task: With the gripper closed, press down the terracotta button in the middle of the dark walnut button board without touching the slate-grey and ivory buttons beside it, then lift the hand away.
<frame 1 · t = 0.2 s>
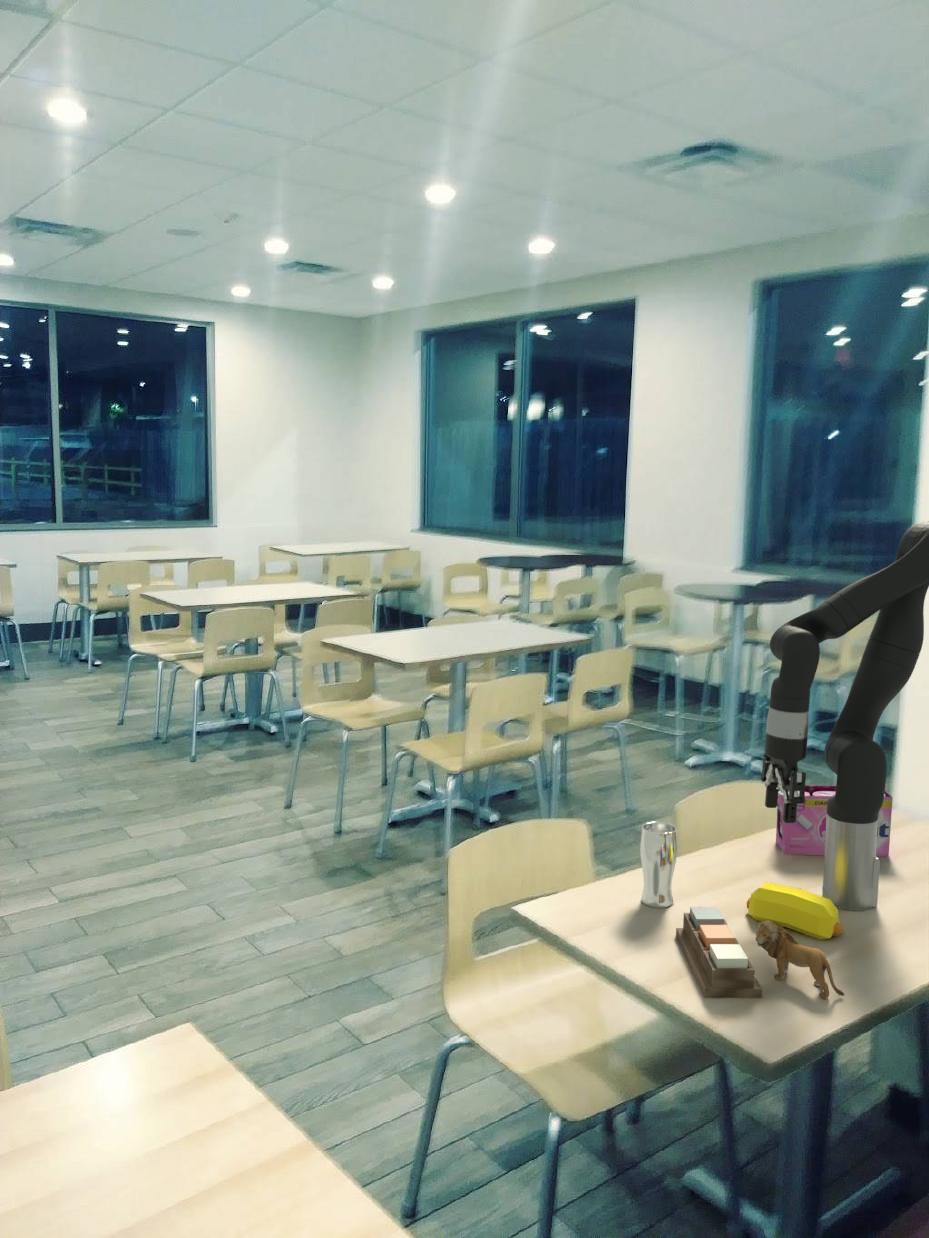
hand: (779, 814, 185), 18 cm above the table, tool pointing down, fingers open, 8 cm apart
terracotta button: (717, 939, 163), point 5 cm above the table, slide at 0.0 cm
ivory button: (728, 959, 156), point 5 cm above the table, slide at 0.0 cm
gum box: (831, 850, 215), on the table
beer glass: (657, 902, 188), on the table
button board: (716, 964, 164), on the table
lion figurine: (794, 983, 158), on the table
ripe banana: (792, 926, 179), on the table
slate button: (706, 920, 170), point 5 cm above the table, slide at 0.0 cm
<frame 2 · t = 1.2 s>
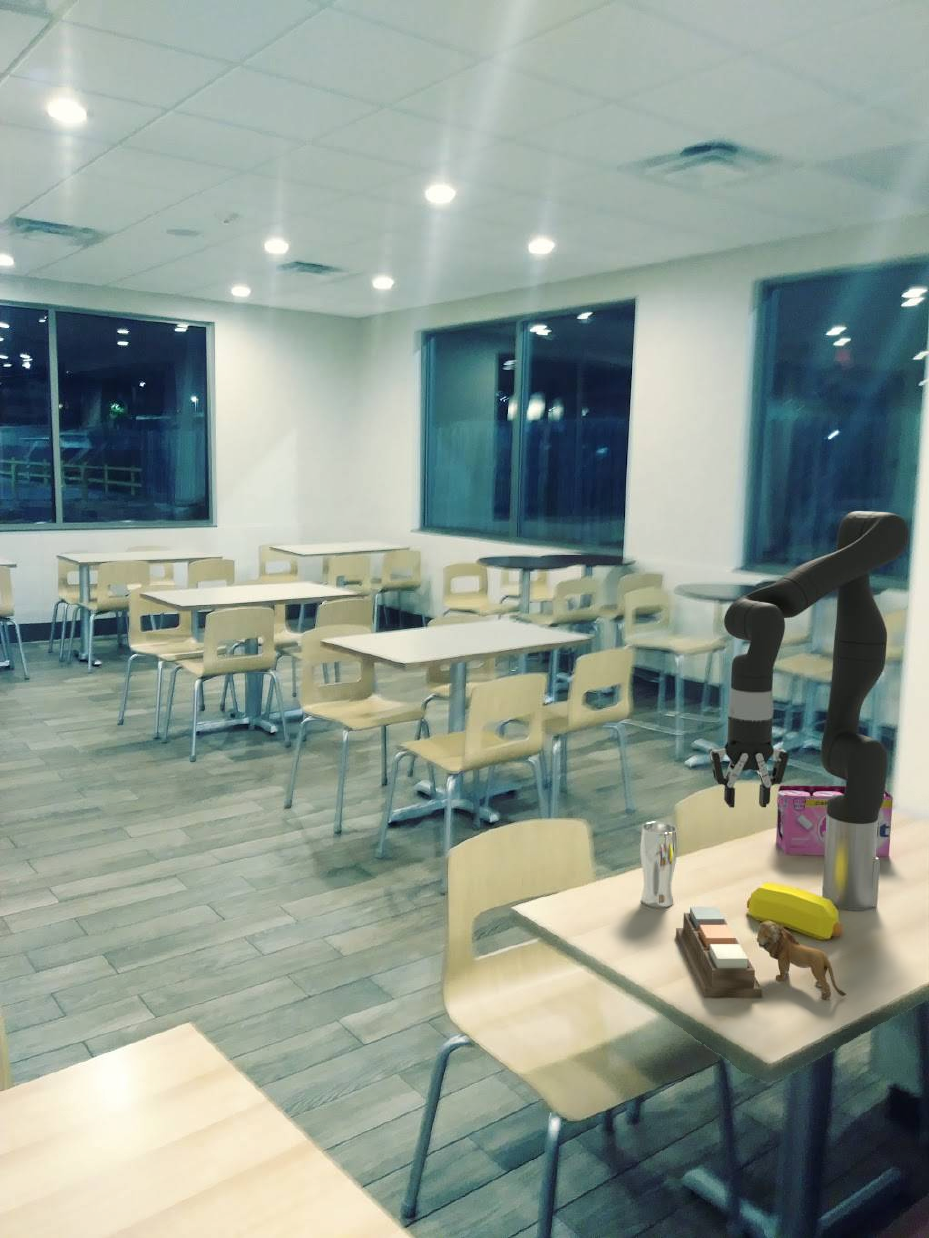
hand: (746, 805, 173), 23 cm above the table, tool pointing down, fingers open, 5 cm apart
nothing on the table moved.
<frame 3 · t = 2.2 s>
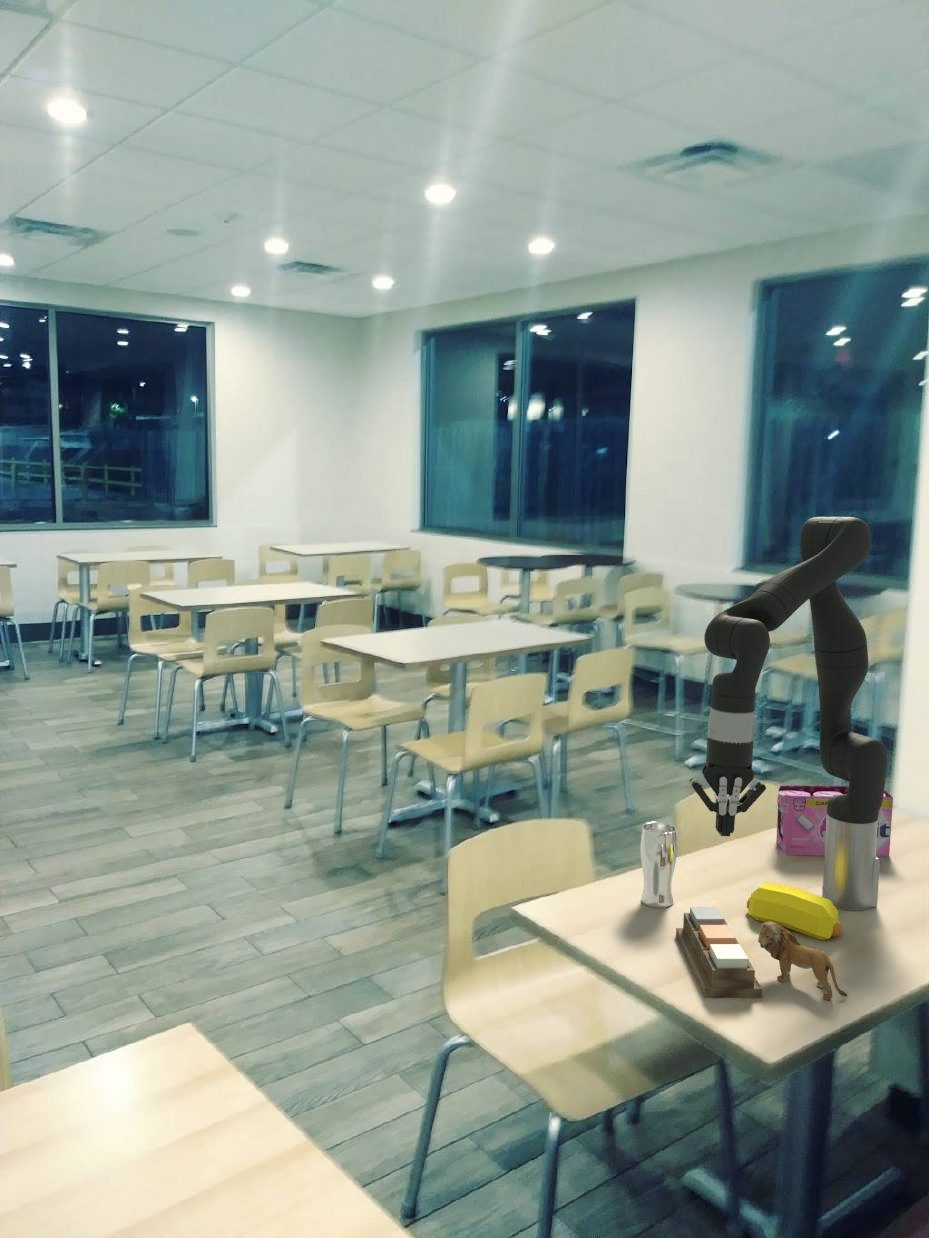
hand: (724, 834, 165), 21 cm above the table, tool pointing down, fingers closed
nothing on the table moved.
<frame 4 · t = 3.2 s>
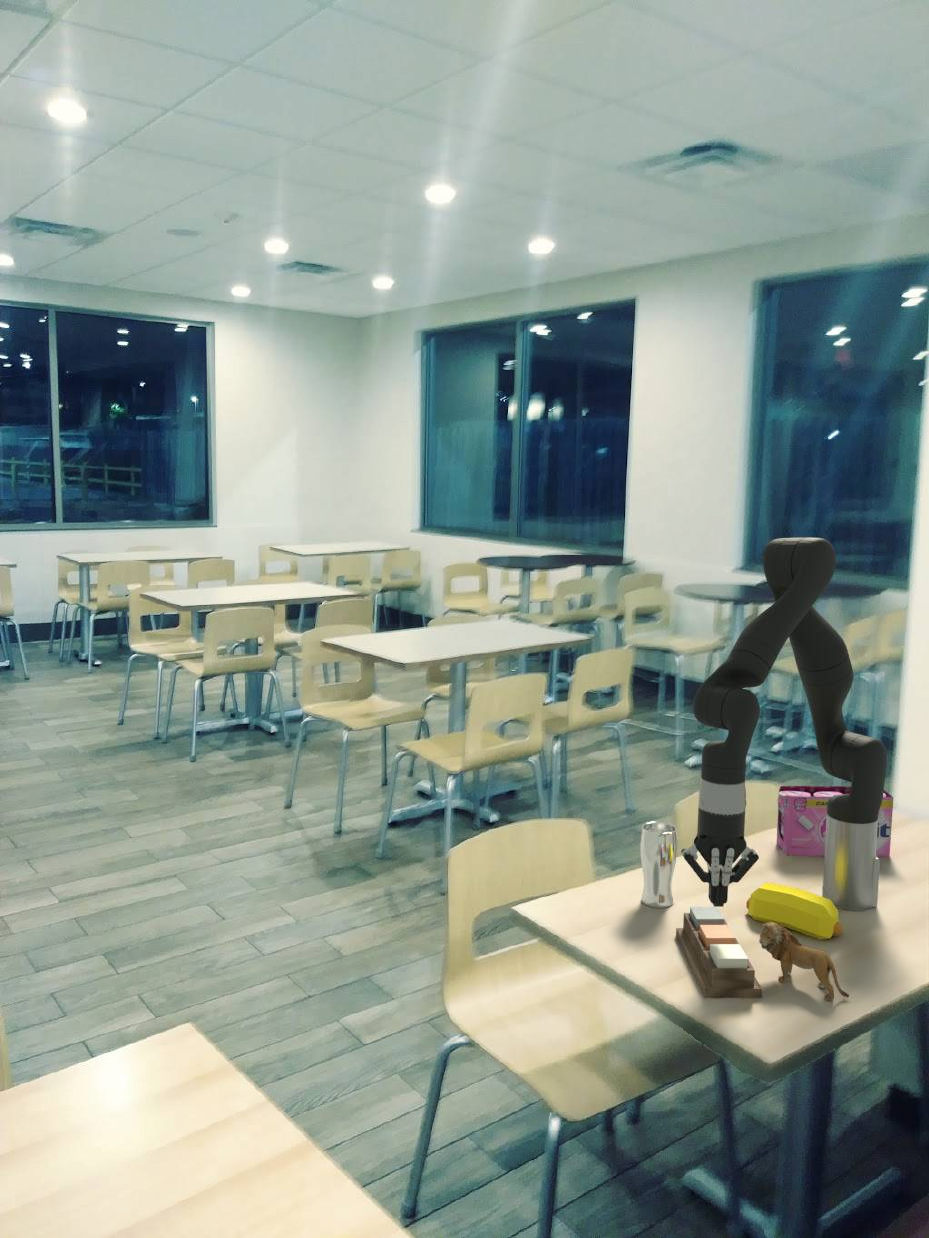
hand: (717, 904, 162), 11 cm above the table, tool pointing down, fingers closed
nothing on the table moved.
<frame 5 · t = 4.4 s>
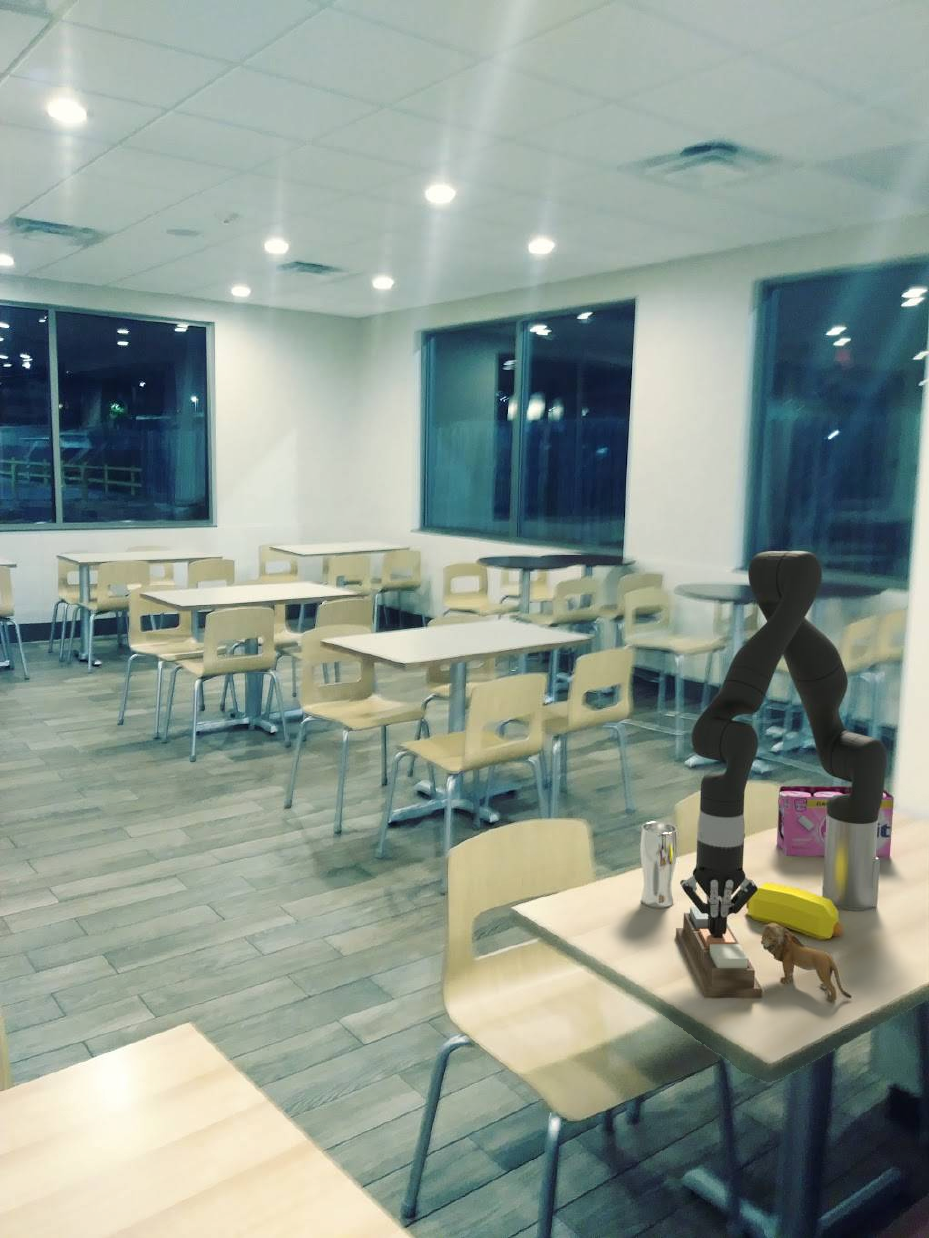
hand: (716, 935, 163), 5 cm above the table, tool pointing down, fingers closed
terracotta button: (716, 943, 163), point 4 cm above the table, slide at 0.7 cm, touching gripper
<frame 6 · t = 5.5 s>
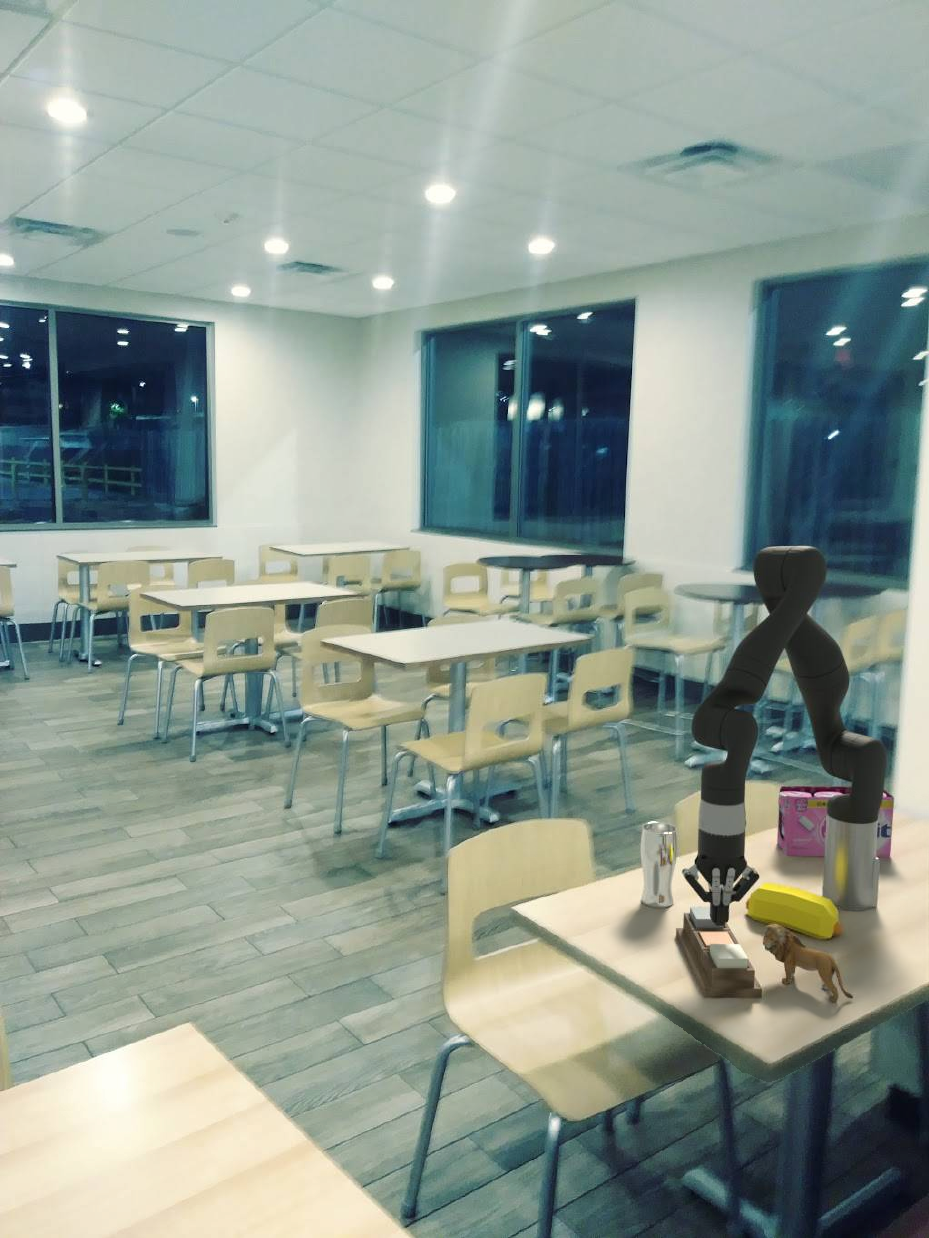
hand: (718, 923, 163), 7 cm above the table, tool pointing down, fingers closed
terracotta button: (716, 946, 163), point 3 cm above the table, slide at 1.3 cm
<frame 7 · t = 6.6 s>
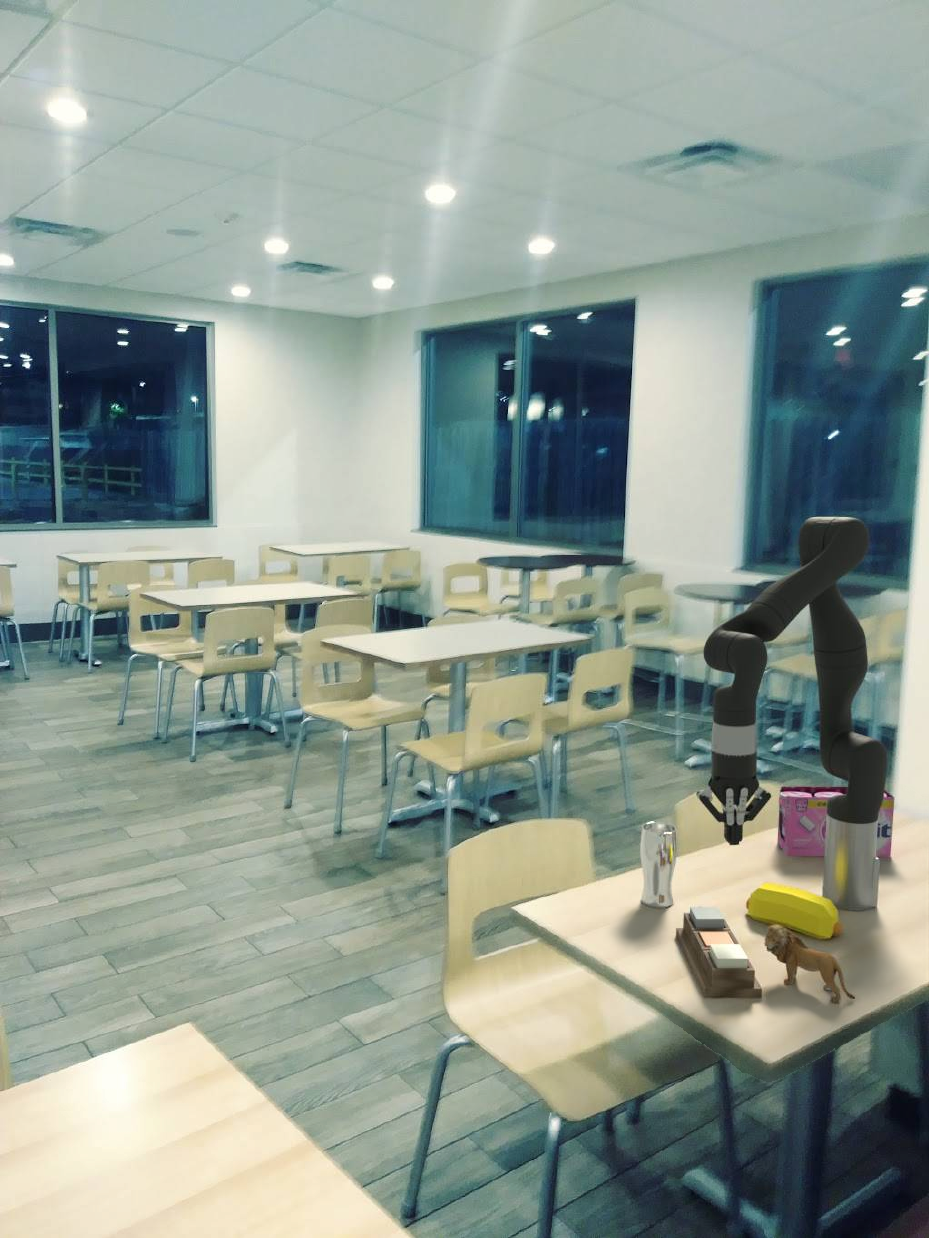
hand: (733, 843, 168), 19 cm above the table, tool pointing down, fingers closed
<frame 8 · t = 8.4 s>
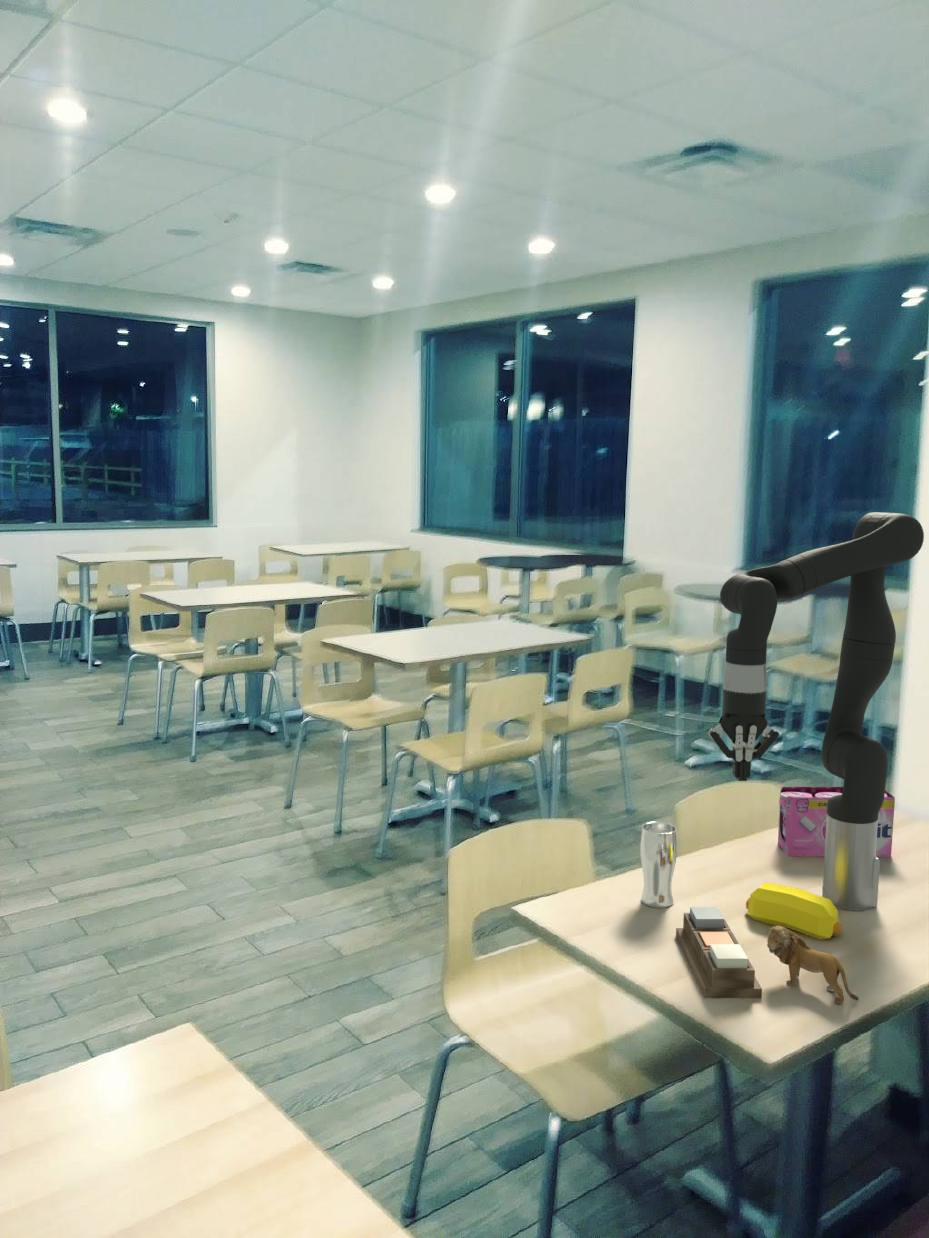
hand: (741, 779, 177), 27 cm above the table, tool pointing down, fingers closed
at the end: terracotta button slide at 1.3 cm; slate button slide at 0.0 cm; ivory button slide at 0.0 cm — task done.
